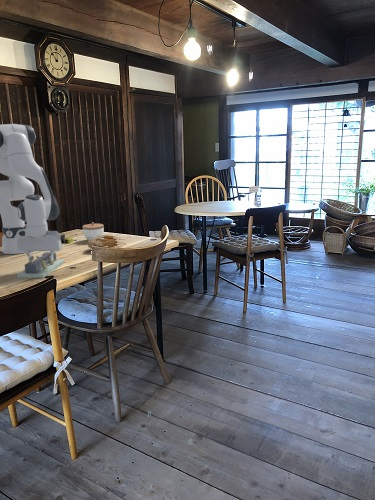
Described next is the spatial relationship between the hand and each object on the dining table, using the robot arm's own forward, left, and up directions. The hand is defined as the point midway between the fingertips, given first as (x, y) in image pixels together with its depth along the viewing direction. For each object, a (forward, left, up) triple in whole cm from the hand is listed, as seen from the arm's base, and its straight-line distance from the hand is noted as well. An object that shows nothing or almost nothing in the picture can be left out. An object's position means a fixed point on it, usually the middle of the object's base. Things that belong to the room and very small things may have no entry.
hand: (41, 260), depth 187 cm
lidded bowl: (-61, +5, -5) cm, 61 cm away
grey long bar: (0, 0, -3) cm, 3 cm away
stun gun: (-60, -15, -5) cm, 62 cm away
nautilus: (-38, +20, -5) cm, 44 cm away
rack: (0, 0, -5) cm, 5 cm away
